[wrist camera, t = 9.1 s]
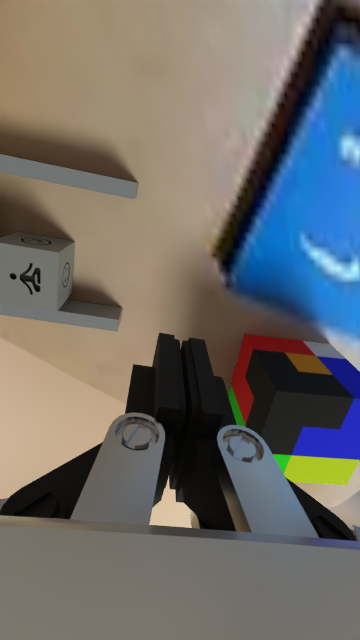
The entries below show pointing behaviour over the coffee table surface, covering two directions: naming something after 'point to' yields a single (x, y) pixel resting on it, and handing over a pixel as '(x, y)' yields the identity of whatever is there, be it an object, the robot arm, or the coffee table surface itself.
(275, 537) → the robot arm
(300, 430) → the puzzle toy
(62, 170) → the corral
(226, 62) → the coffee table surface
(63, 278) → the dice cube
